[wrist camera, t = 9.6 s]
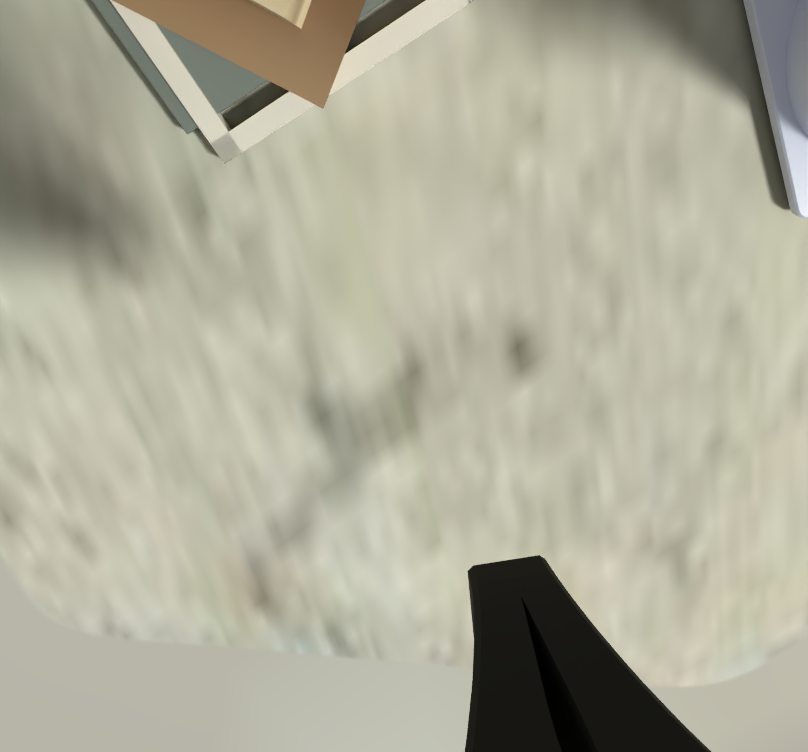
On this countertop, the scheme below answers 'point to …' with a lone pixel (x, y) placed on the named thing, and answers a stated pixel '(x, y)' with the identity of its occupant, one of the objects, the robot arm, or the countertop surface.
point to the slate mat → (245, 71)
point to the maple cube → (287, 9)
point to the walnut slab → (265, 38)
